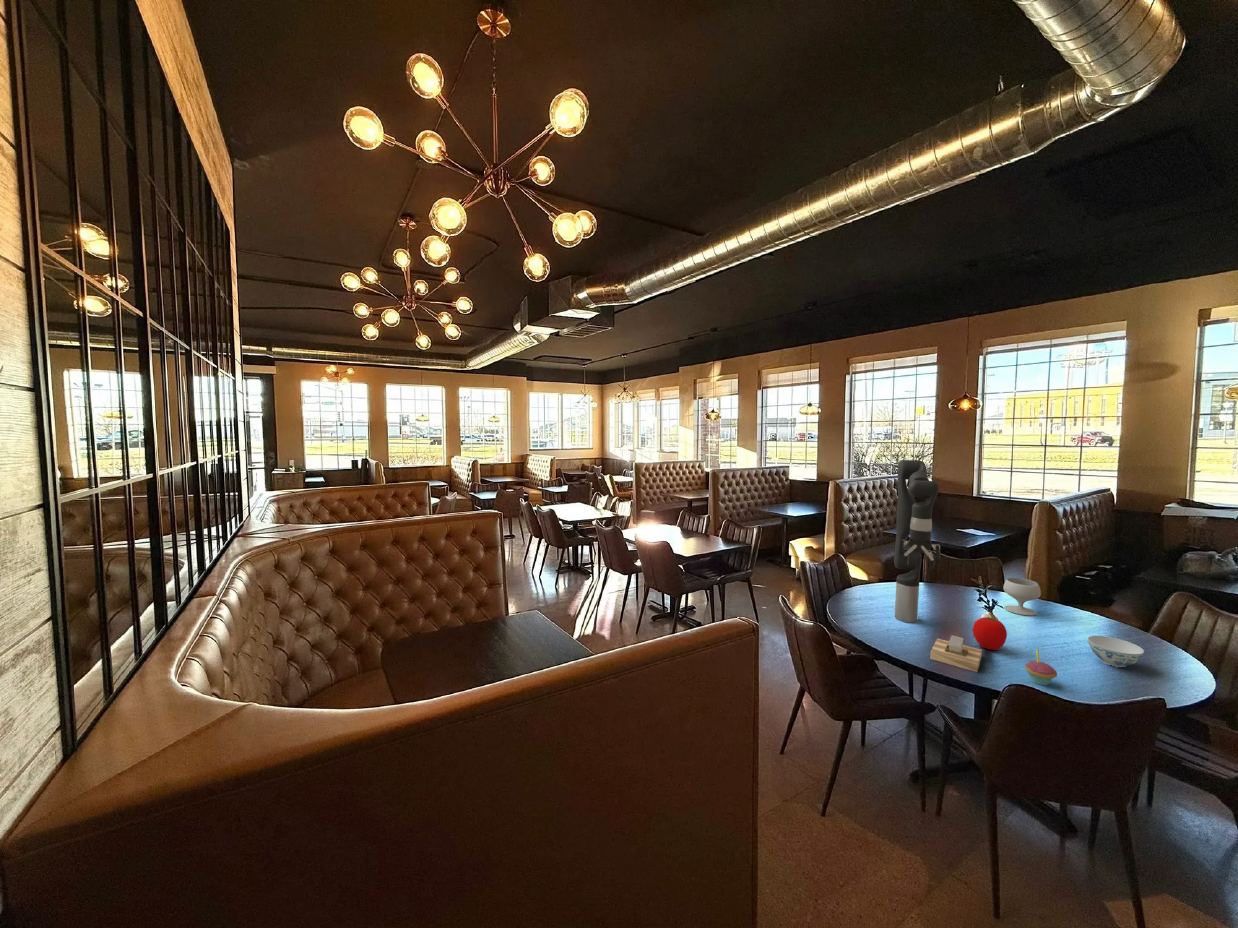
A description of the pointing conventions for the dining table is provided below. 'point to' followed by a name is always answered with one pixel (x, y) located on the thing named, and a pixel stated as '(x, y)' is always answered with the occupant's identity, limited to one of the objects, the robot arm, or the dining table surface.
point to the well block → (966, 661)
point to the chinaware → (1115, 650)
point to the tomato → (989, 633)
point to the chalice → (1021, 594)
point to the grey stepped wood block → (956, 645)
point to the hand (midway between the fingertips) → (918, 566)
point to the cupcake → (1040, 671)
